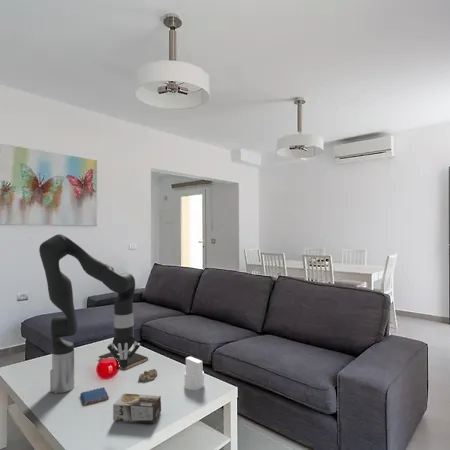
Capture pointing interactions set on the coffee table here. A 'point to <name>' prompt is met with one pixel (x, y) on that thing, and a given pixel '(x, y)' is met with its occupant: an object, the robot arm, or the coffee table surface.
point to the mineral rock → (148, 375)
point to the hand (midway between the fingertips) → (124, 367)
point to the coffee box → (137, 408)
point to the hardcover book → (131, 361)
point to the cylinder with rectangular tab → (194, 374)
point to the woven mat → (94, 396)
